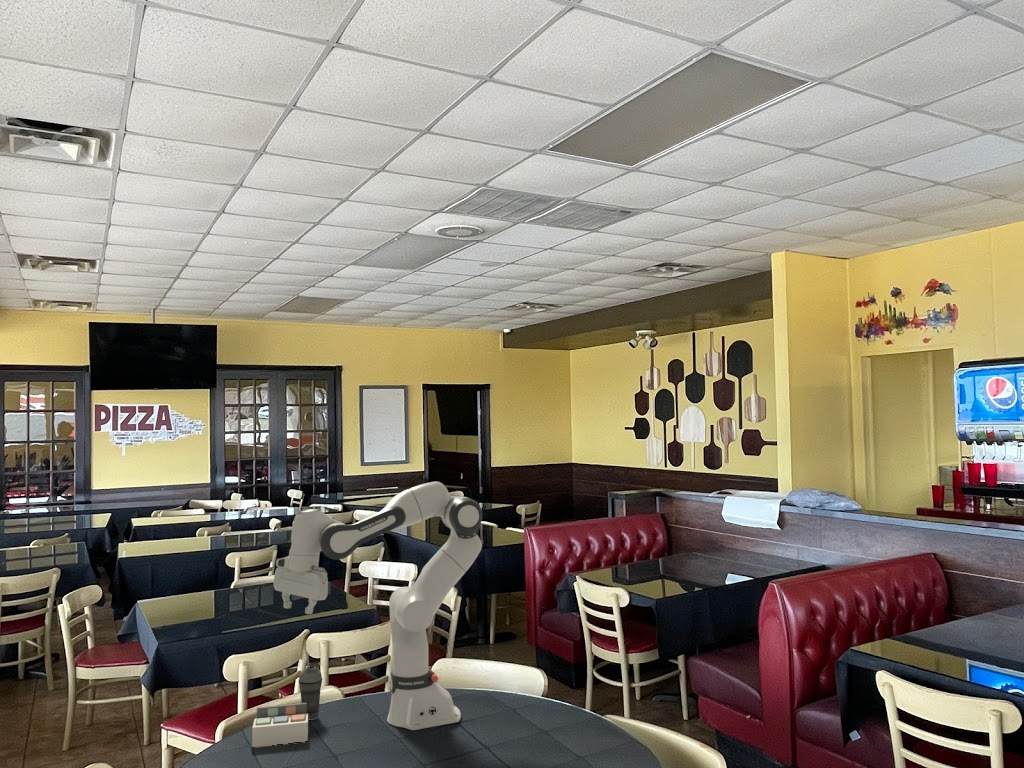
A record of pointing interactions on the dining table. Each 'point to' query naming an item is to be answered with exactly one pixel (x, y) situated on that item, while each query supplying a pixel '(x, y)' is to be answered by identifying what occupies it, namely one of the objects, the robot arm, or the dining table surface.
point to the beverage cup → (310, 689)
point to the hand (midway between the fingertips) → (297, 610)
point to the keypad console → (280, 726)
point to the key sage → (263, 721)
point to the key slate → (281, 719)
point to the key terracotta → (298, 718)
